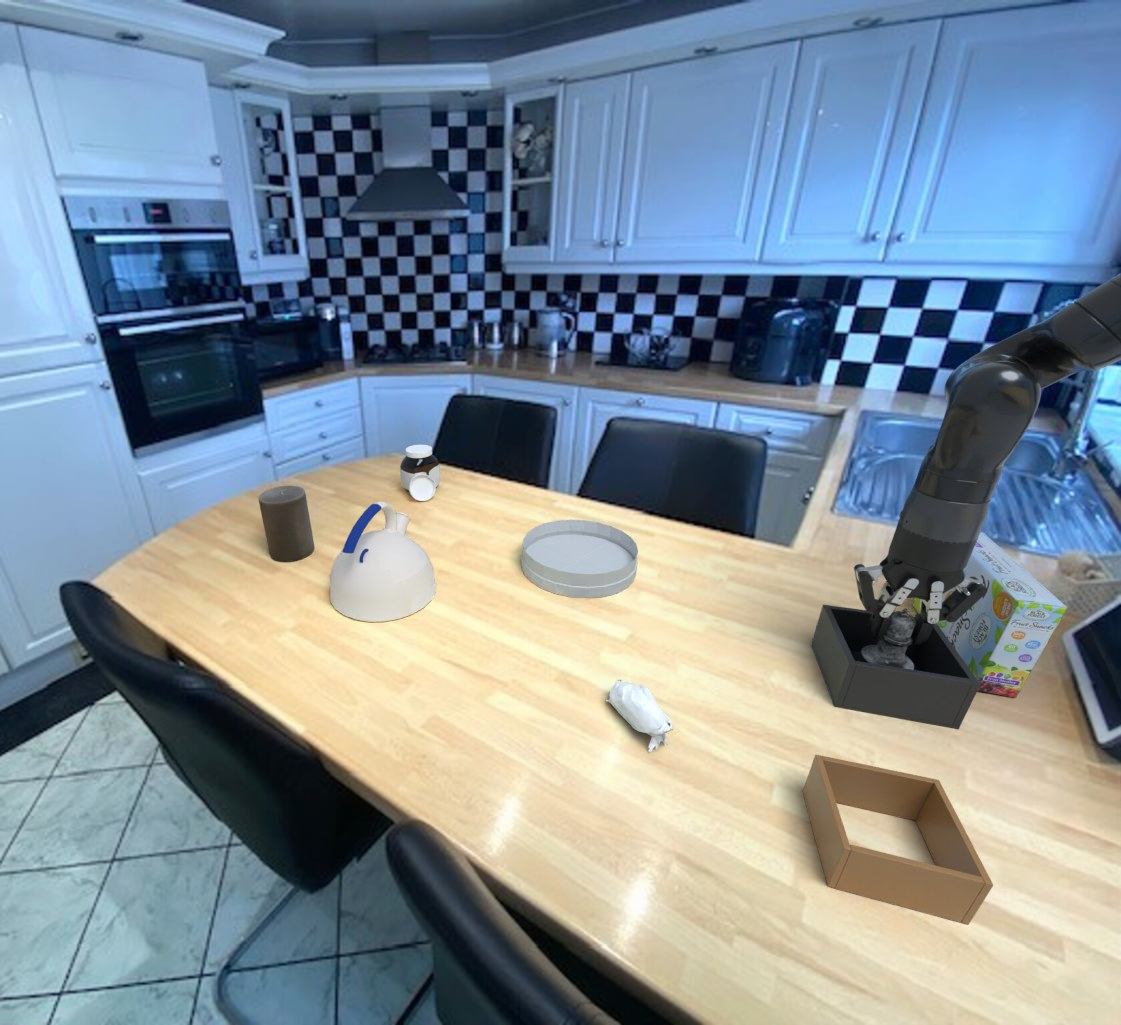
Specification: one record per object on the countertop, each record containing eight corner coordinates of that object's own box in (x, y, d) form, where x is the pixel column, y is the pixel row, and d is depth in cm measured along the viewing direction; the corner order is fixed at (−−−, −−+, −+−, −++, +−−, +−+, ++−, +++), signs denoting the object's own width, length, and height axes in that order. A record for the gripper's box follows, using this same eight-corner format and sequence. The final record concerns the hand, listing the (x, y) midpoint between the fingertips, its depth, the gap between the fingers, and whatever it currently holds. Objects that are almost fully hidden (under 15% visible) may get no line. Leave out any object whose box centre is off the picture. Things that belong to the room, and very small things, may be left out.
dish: (498, 567, 112) (498, 545, 110) (565, 530, 125) (566, 509, 123) (592, 613, 97) (594, 589, 94) (658, 565, 110) (661, 543, 107)
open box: (916, 660, 83) (933, 619, 79) (959, 729, 71) (980, 684, 68) (810, 644, 87) (822, 604, 84) (834, 706, 76) (849, 663, 72)
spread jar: (426, 481, 155) (424, 440, 149) (454, 492, 147) (452, 450, 142) (391, 493, 148) (388, 452, 143) (418, 506, 140) (415, 462, 135)
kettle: (454, 573, 111) (451, 489, 103) (405, 634, 94) (397, 540, 86) (366, 555, 119) (357, 476, 111) (307, 609, 102) (291, 520, 94)
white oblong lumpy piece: (678, 743, 73) (628, 682, 80) (687, 719, 68) (634, 656, 75) (647, 761, 72) (599, 697, 79) (654, 737, 67) (603, 672, 74)
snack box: (1022, 700, 75) (1072, 607, 68) (970, 691, 77) (1014, 600, 70) (950, 610, 93) (984, 529, 86) (909, 605, 95) (940, 525, 88)
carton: (920, 817, 61) (939, 779, 58) (969, 924, 51) (993, 885, 49) (802, 790, 64) (815, 753, 62) (827, 886, 55) (844, 847, 52)
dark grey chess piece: (872, 660, 82) (897, 591, 77) (916, 686, 77) (946, 614, 72) (844, 671, 80) (868, 602, 75) (887, 698, 75) (915, 626, 70)
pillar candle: (292, 566, 116) (280, 501, 110) (260, 555, 121) (246, 492, 114) (324, 546, 123) (314, 483, 117) (292, 536, 128) (281, 476, 122)
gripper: (879, 532, 67) (841, 646, 75) (1029, 546, 63) (973, 666, 70) (860, 507, 74) (827, 614, 81) (995, 518, 69) (947, 630, 77)
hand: (895, 637), depth 76 cm, fingers closed on dark grey chess piece, 3 cm apart
